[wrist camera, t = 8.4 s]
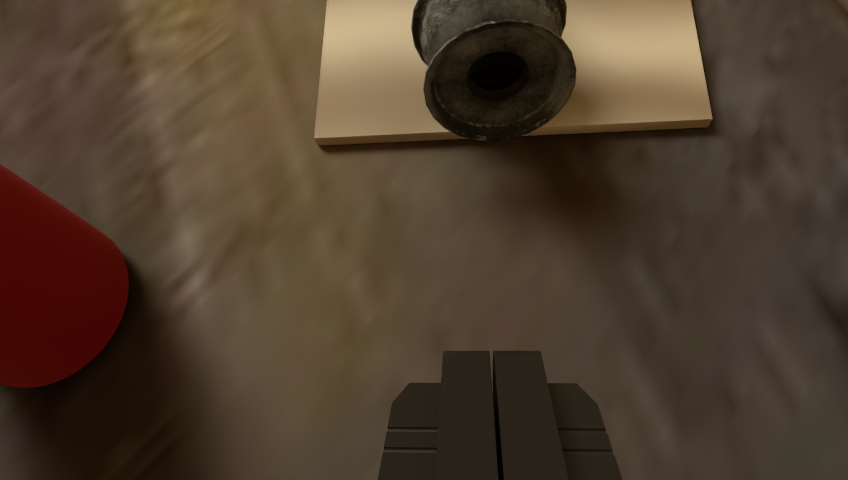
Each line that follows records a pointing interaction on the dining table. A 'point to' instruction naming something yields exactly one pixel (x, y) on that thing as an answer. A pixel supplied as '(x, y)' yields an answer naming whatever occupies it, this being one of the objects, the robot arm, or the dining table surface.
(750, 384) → the dining table surface
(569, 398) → the robot arm
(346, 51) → the birch board
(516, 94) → the grey chess piece
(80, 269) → the beverage can
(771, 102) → the dining table surface
